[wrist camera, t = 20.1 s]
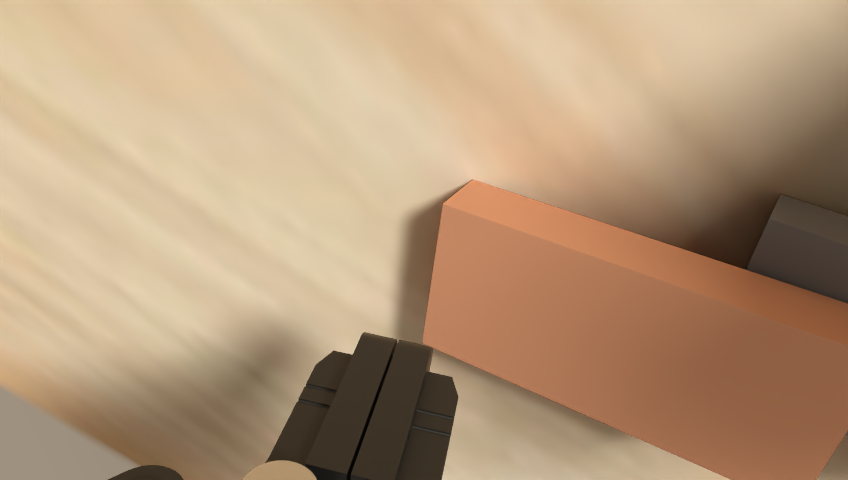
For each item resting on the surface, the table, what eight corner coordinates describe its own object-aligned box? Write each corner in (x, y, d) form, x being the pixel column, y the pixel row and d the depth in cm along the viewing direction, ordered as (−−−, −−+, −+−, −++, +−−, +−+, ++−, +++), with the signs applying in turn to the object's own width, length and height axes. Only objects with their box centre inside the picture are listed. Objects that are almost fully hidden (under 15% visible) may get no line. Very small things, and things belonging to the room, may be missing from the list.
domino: (422, 342, 21) (797, 509, 17) (442, 203, 18) (892, 361, 14) (449, 311, 22) (799, 456, 18) (472, 179, 20) (884, 315, 16)
